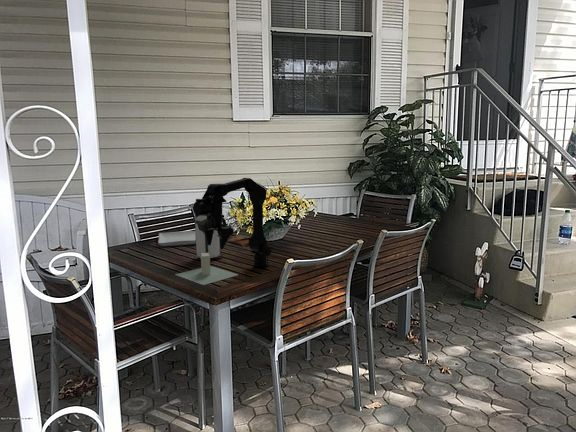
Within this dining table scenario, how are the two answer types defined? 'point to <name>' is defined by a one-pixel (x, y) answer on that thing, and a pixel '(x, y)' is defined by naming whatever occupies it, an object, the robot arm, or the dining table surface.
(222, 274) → the rubber mat
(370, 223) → the dining table surface
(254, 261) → the robot arm
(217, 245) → the coffee press
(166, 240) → the square plate
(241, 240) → the sunglasses case
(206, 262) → the card box
